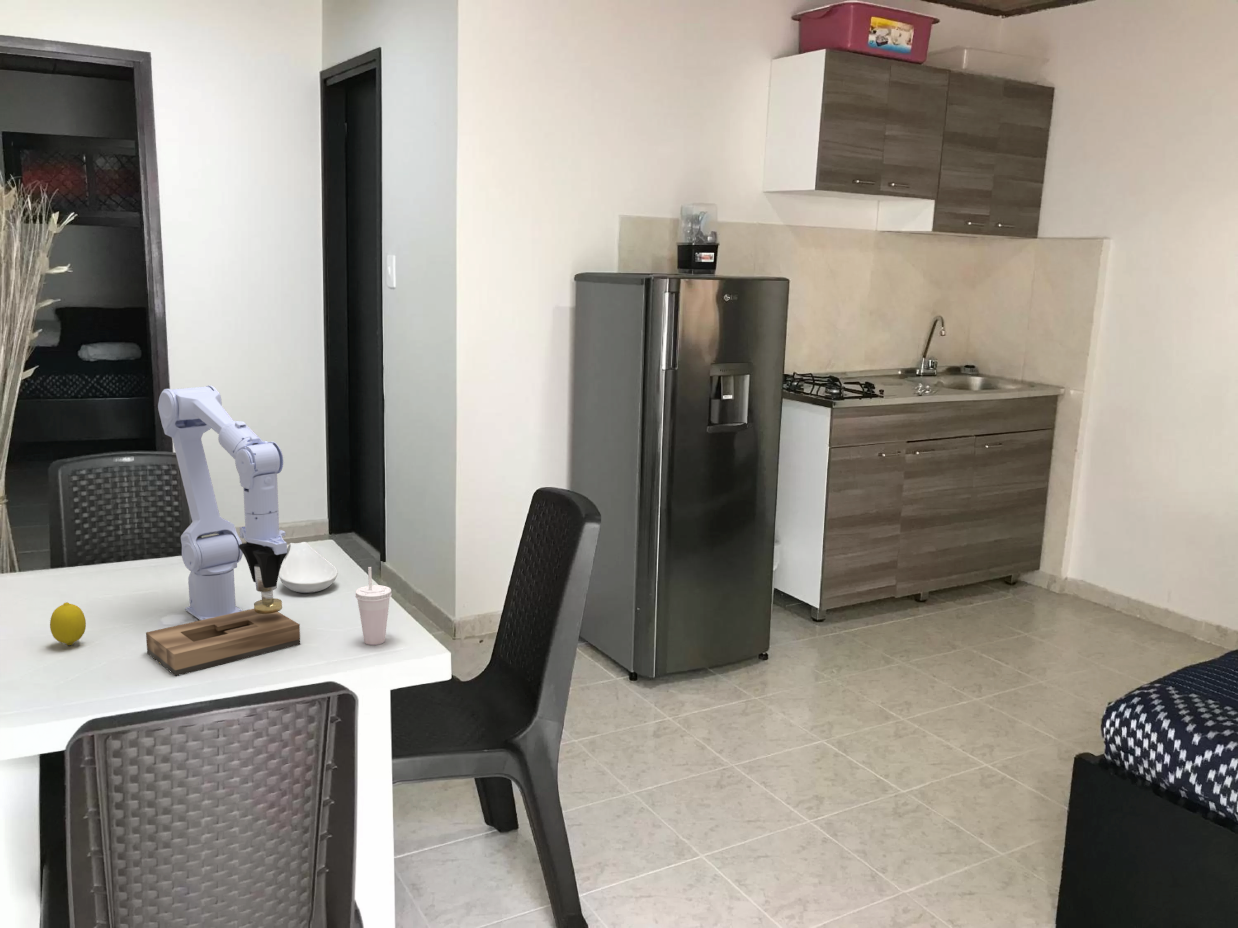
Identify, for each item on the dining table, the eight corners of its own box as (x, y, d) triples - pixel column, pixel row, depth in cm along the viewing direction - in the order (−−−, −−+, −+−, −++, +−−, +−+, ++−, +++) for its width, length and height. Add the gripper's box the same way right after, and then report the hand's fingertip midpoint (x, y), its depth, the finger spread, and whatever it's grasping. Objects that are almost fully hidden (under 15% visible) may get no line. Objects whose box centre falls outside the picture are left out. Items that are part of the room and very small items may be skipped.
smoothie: (359, 634, 189) (357, 562, 186) (394, 634, 189) (393, 562, 186) (353, 647, 182) (351, 572, 180) (390, 647, 183) (388, 572, 180)
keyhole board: (147, 652, 178) (145, 632, 177) (268, 624, 192) (267, 605, 192) (175, 675, 168) (174, 654, 168) (300, 644, 183) (299, 624, 182)
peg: (249, 608, 185) (246, 564, 183) (274, 602, 188) (271, 559, 186) (261, 615, 182) (258, 571, 180) (287, 609, 185) (283, 565, 183)
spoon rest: (343, 594, 211) (342, 561, 210) (285, 602, 206) (283, 568, 205) (320, 563, 232) (319, 533, 230) (266, 569, 226) (264, 538, 225)
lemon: (72, 652, 177) (68, 609, 175) (44, 649, 178) (40, 606, 176) (94, 641, 182) (91, 598, 180) (67, 638, 183) (63, 596, 182)
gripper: (302, 515, 179) (304, 589, 181) (264, 499, 189) (267, 570, 191) (263, 521, 174) (267, 597, 176) (227, 505, 184) (230, 577, 187)
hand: (264, 583), depth 184 cm, fingers closed on peg, 4 cm apart
